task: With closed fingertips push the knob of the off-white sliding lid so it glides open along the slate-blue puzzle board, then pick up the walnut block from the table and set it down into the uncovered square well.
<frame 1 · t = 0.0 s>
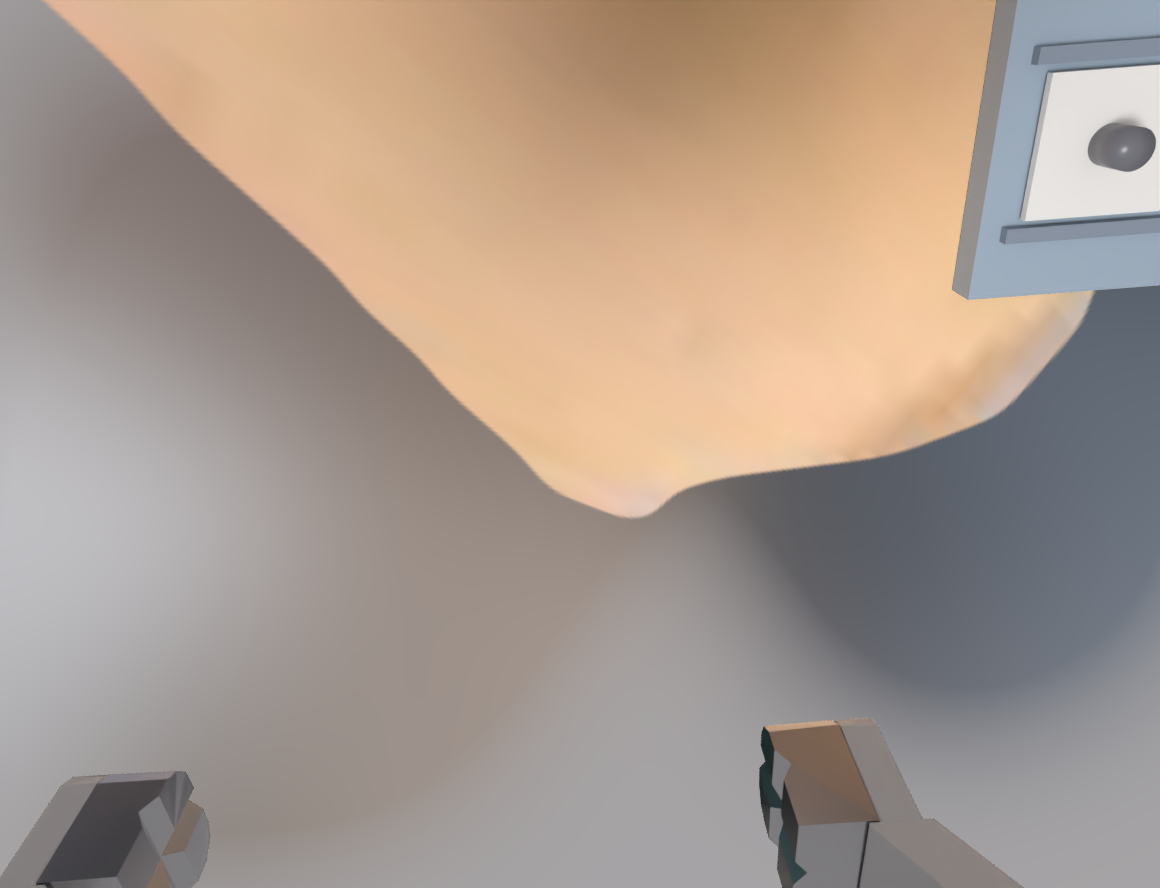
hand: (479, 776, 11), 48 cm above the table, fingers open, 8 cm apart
lid: (1117, 146, 49), point 4 cm above the table, slide at 0.0 cm
puzzle board: (1135, 134, 53), on the table
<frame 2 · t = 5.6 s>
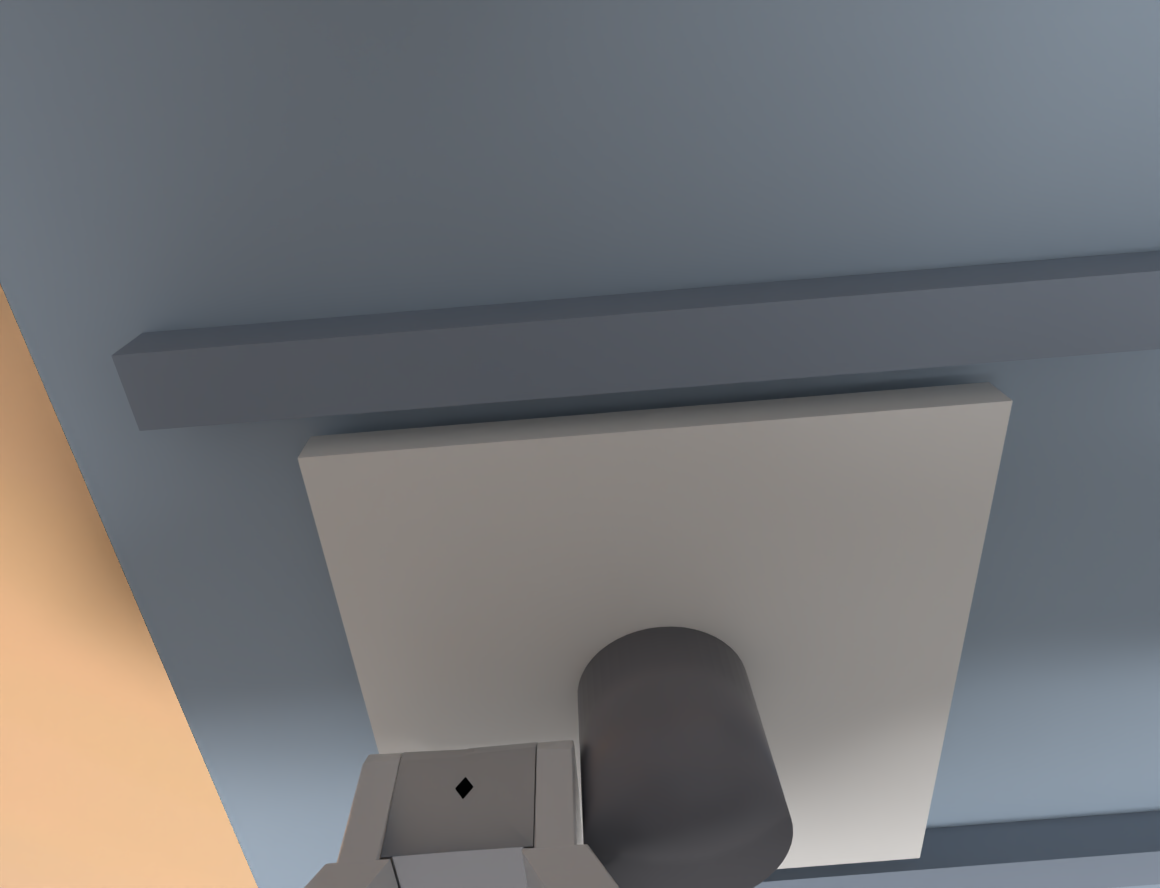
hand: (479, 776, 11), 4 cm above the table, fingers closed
lid: (671, 742, 11), point 4 cm above the table, slide at 0.9 cm, touching gripper
puzzle board: (803, 546, 15), on the table
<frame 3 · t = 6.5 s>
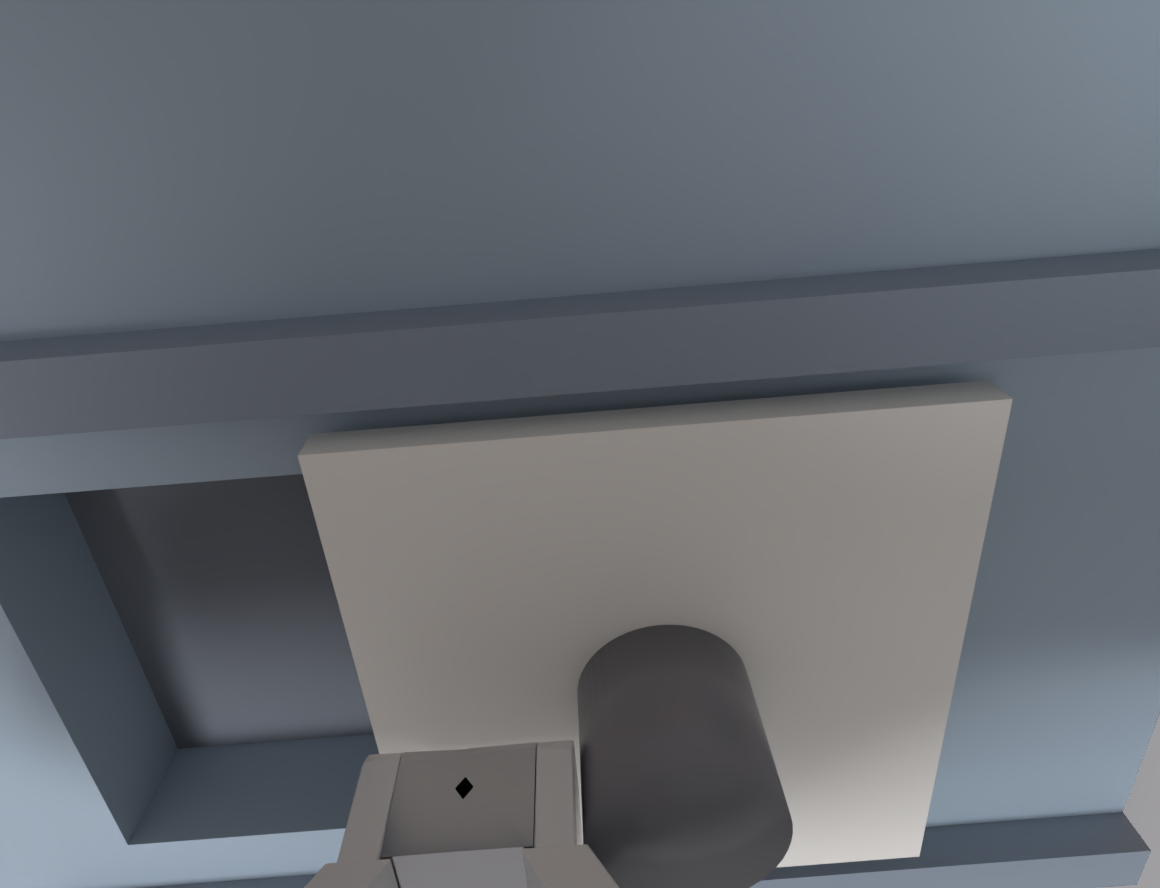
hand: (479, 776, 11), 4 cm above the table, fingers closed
lid: (671, 740, 11), point 4 cm above the table, slide at 6.2 cm, touching gripper
puzzle board: (527, 567, 15), on the table
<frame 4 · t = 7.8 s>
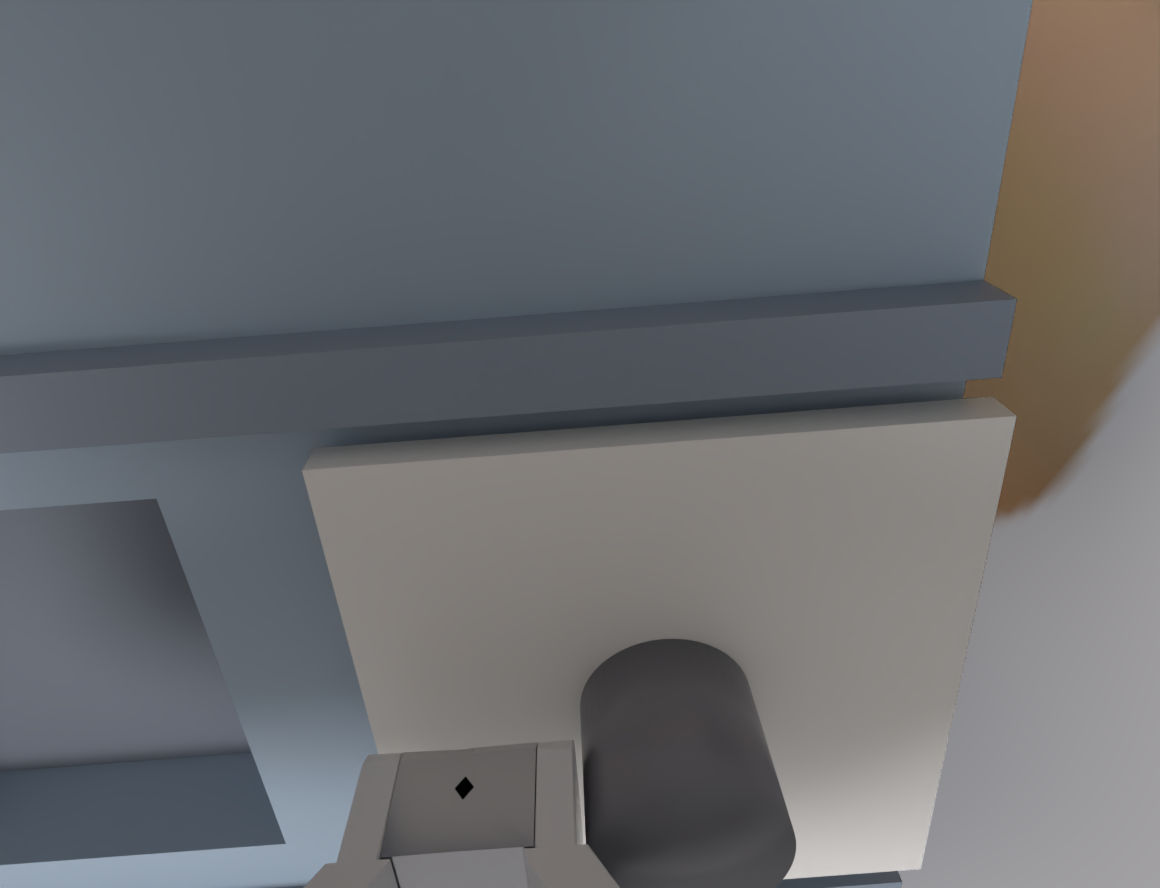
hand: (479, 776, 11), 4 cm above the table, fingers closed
lid: (673, 755, 11), point 4 cm above the table, slide at 10.7 cm, touching gripper
puzzle board: (290, 596, 15), on the table
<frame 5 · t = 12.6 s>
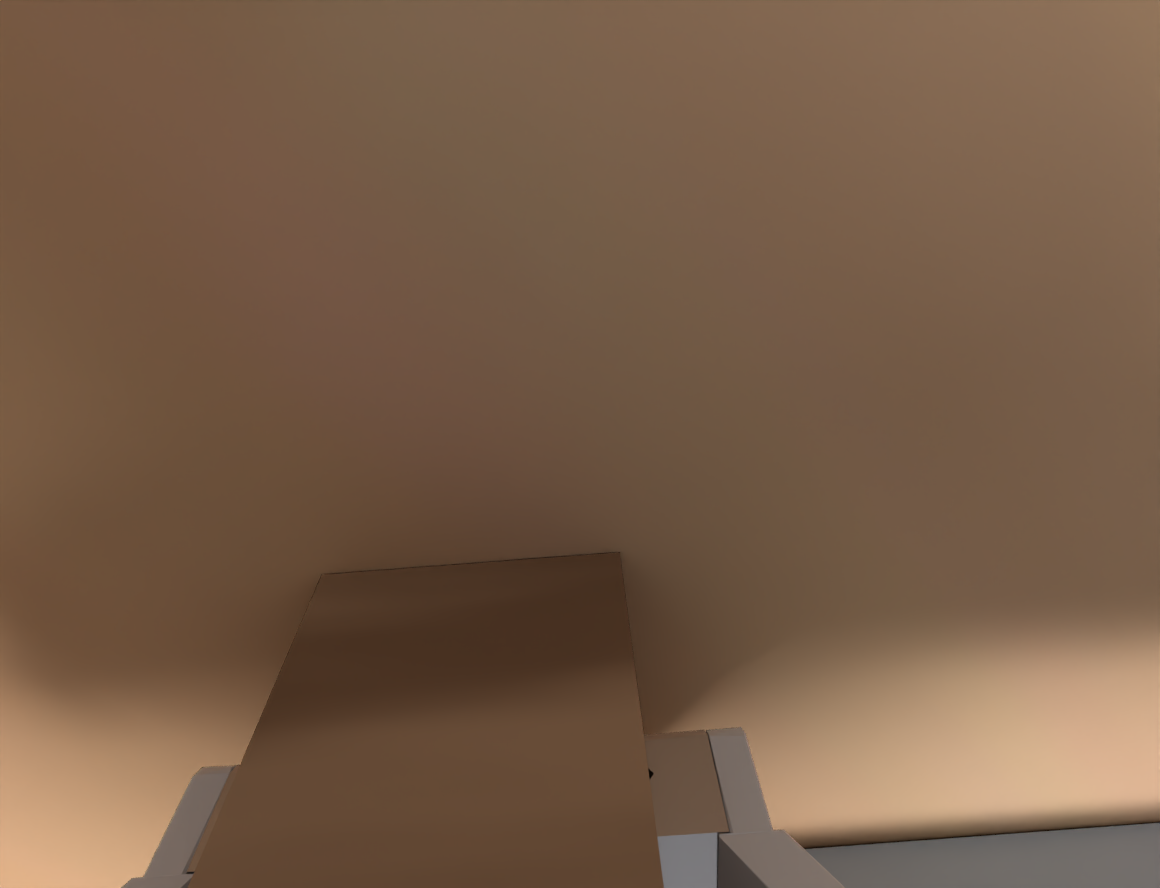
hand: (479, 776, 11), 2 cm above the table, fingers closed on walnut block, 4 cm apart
walnut block: (488, 675, 13), on the table, touching gripper
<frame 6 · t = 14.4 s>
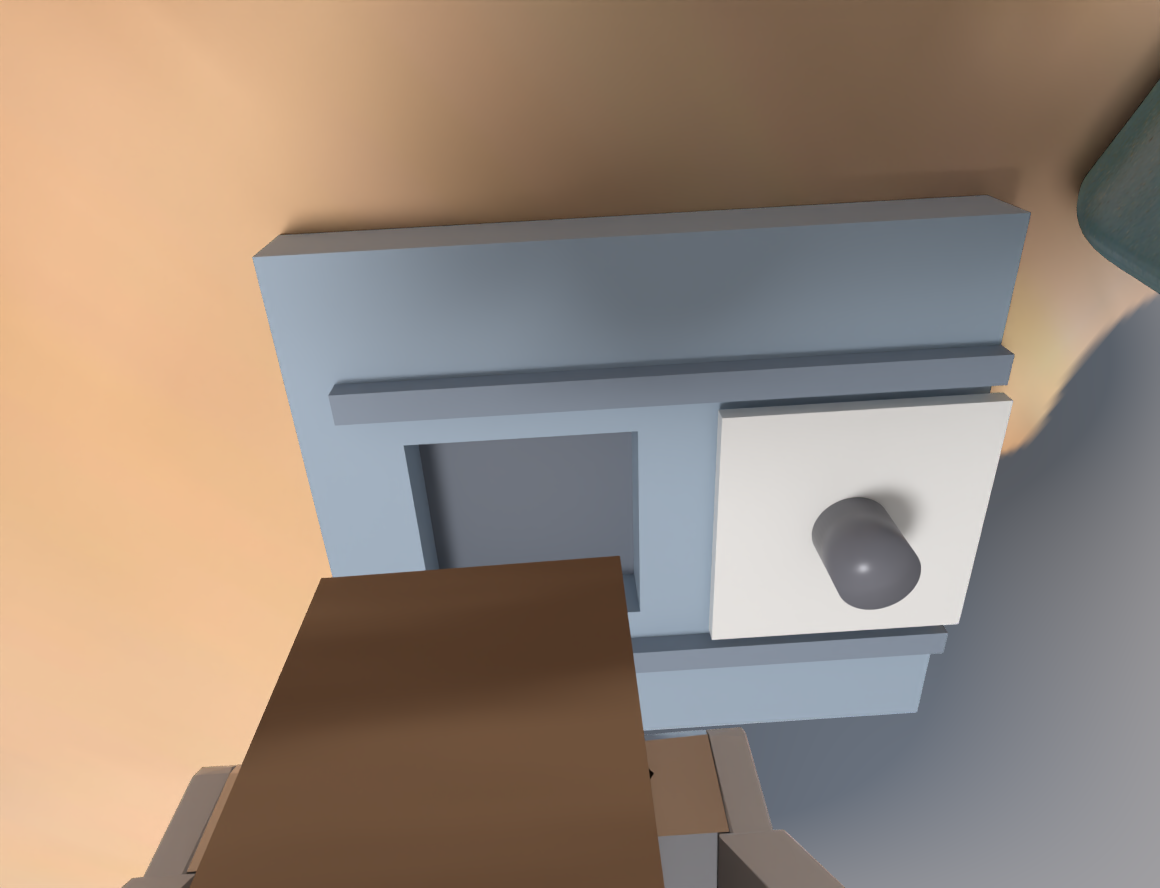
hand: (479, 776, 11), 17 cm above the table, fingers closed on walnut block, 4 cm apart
lid: (860, 546, 25), point 4 cm above the table, slide at 10.7 cm
walnut block: (488, 678, 13), point 15 cm above the table, touching gripper
puzzle board: (638, 488, 29), on the table
when the fingers open (4 cm above the table, at t = 16.5 s): walnut block drops 2 cm, resting on puzzle board.
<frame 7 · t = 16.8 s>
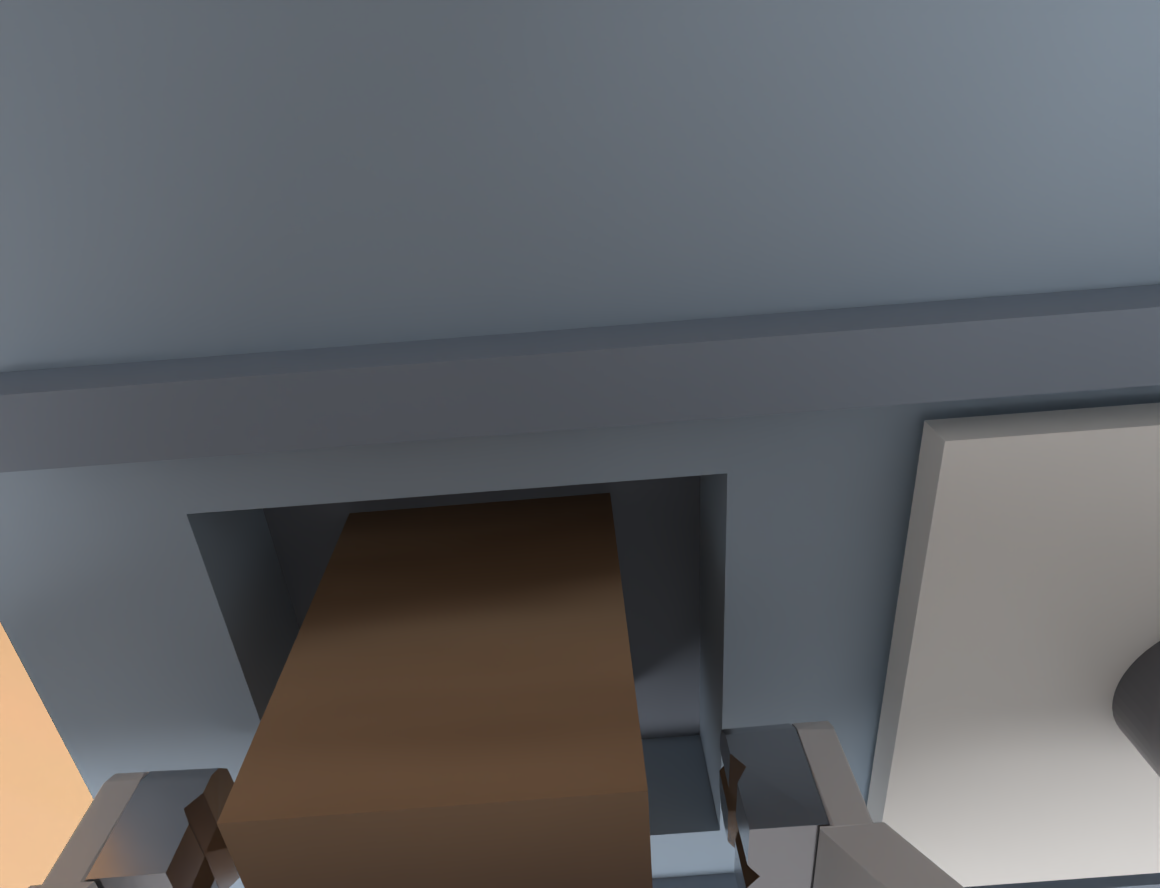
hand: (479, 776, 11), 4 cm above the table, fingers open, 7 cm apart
walnut block: (495, 606, 14), resting on puzzle board
puzzle board: (710, 579, 15), on the table
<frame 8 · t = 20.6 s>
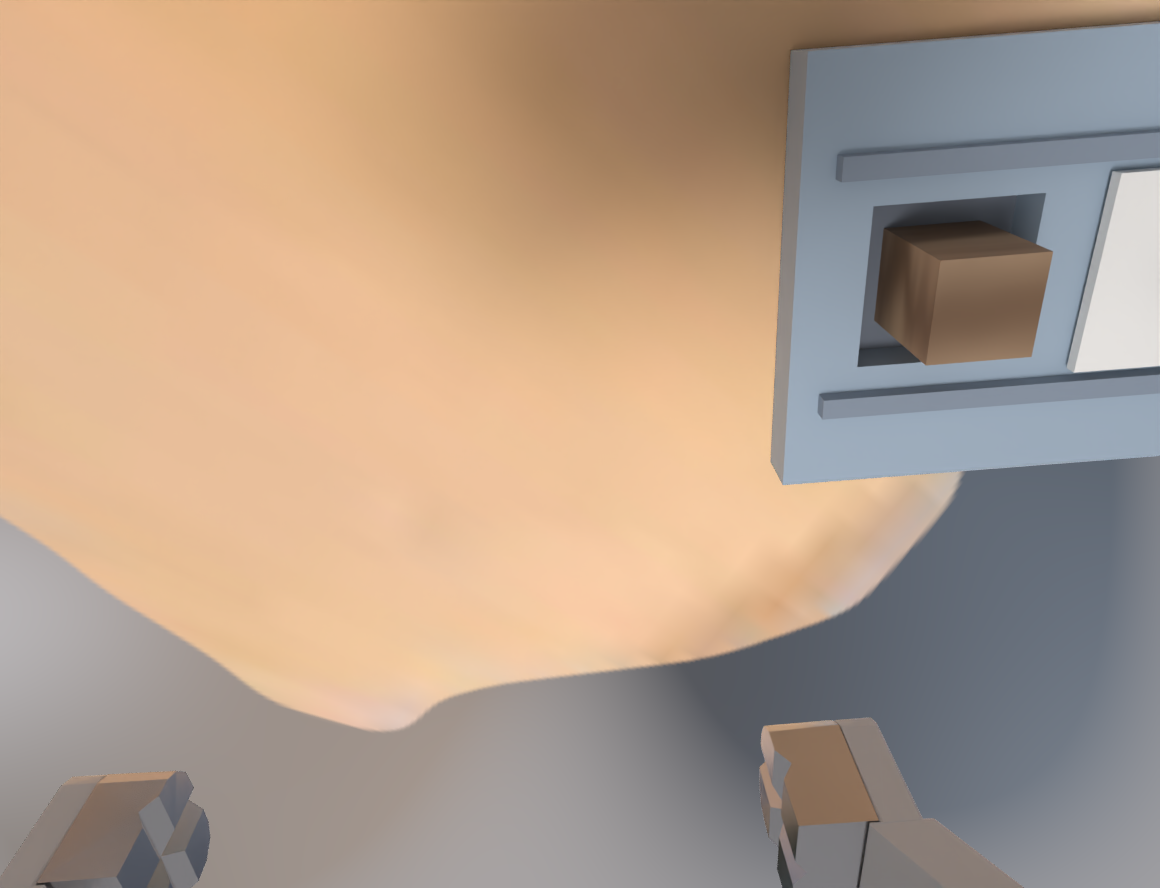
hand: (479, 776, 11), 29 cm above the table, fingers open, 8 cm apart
walnut block: (925, 271, 38), resting on puzzle board
puzzle board: (1006, 263, 38), on the table
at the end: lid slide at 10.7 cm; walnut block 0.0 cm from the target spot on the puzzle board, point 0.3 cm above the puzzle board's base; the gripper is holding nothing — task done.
